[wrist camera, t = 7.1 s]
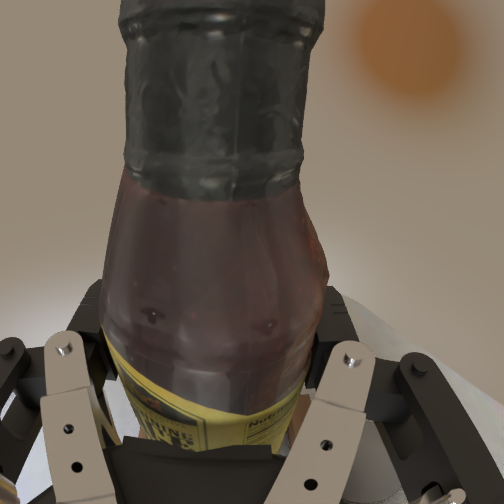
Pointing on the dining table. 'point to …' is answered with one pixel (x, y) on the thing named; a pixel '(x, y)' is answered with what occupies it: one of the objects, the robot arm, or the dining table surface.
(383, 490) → the coaster
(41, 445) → the dining table surface
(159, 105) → the sauce bottle
